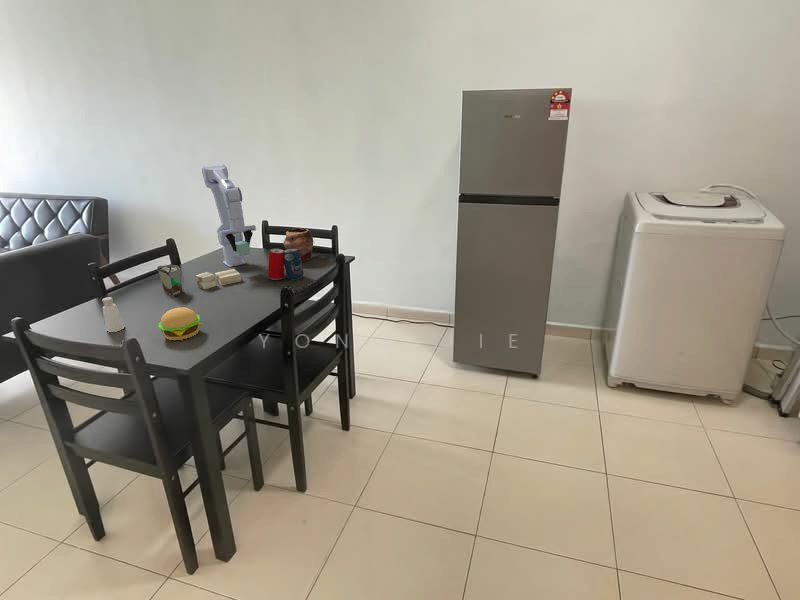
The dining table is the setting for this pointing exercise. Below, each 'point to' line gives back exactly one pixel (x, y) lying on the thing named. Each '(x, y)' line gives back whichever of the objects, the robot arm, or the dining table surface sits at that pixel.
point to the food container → (171, 279)
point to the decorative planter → (300, 242)
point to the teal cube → (242, 248)
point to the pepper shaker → (112, 316)
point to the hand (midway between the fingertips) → (241, 249)
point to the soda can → (293, 263)
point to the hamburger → (179, 323)
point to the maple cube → (205, 280)
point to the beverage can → (276, 264)
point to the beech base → (228, 277)
